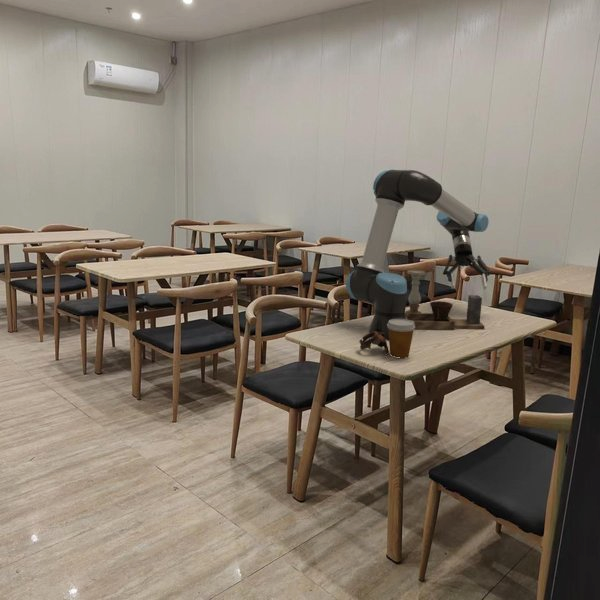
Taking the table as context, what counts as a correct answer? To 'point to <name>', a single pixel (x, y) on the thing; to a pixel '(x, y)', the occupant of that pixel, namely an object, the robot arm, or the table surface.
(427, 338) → the table surface
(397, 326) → the disposable coffee cup
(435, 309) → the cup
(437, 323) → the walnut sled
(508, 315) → the table surface
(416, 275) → the candle holder
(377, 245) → the robot arm
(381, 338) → the dark brown arched piece
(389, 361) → the table surface
